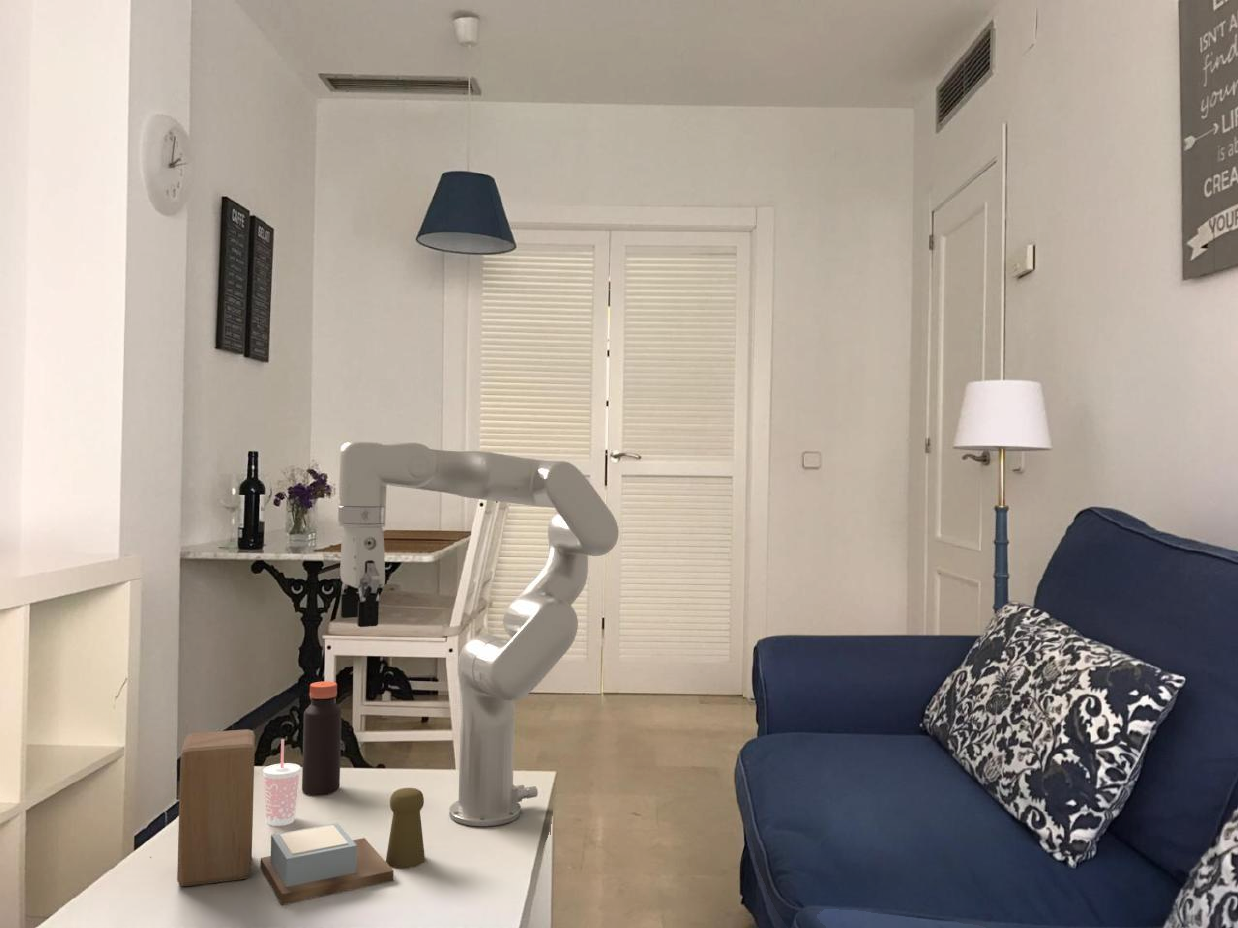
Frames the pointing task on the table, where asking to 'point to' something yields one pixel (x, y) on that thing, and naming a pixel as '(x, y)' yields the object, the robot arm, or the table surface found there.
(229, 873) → the block
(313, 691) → the bottle
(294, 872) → the slate plinth
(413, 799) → the olive pawn
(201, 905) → the table surface
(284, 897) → the brown board
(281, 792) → the beverage cup
